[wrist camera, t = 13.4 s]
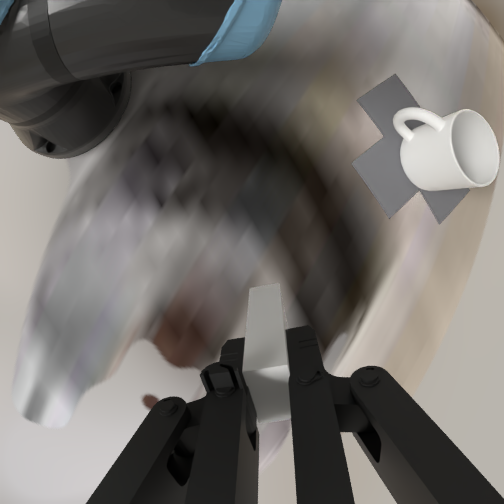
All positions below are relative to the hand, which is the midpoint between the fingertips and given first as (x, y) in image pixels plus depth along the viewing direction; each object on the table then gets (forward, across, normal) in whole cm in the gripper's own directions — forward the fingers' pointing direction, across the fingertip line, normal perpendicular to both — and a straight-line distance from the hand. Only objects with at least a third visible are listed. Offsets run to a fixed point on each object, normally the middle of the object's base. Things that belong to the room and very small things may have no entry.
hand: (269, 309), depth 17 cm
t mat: (+24, +19, +3) cm, 30 cm away
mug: (+24, +20, +4) cm, 31 cm away
